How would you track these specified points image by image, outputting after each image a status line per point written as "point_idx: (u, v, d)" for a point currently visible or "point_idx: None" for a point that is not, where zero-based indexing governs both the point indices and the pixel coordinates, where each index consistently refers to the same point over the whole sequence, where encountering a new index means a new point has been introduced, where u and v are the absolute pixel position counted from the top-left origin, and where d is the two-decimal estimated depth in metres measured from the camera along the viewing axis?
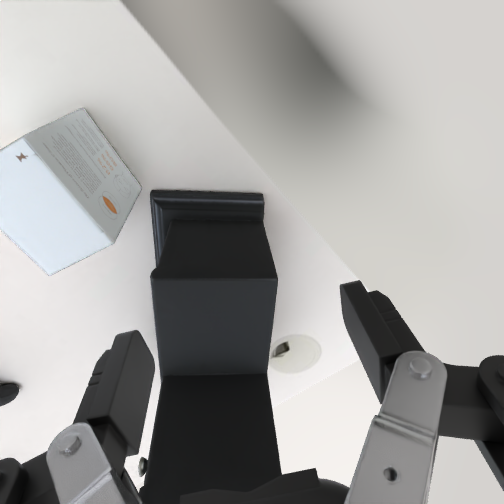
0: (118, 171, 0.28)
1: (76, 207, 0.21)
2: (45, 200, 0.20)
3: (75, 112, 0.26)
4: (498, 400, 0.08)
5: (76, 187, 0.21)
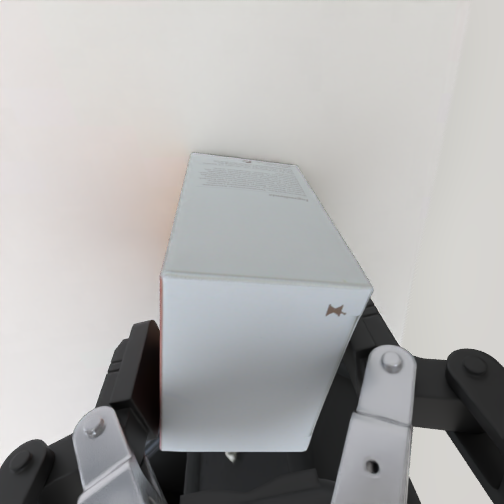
0: None
1: (318, 399, 0.11)
2: (291, 374, 0.10)
3: (306, 180, 0.16)
4: (466, 393, 0.08)
5: None
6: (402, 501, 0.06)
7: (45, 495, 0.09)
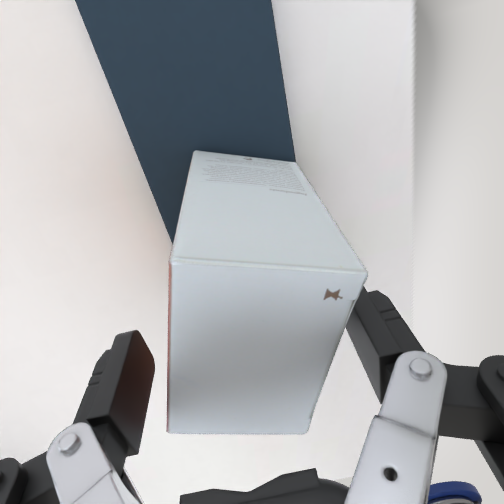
0: None
1: (317, 382, 0.12)
2: (291, 357, 0.11)
3: (304, 176, 0.16)
4: (498, 400, 0.08)
5: None
6: None
7: None
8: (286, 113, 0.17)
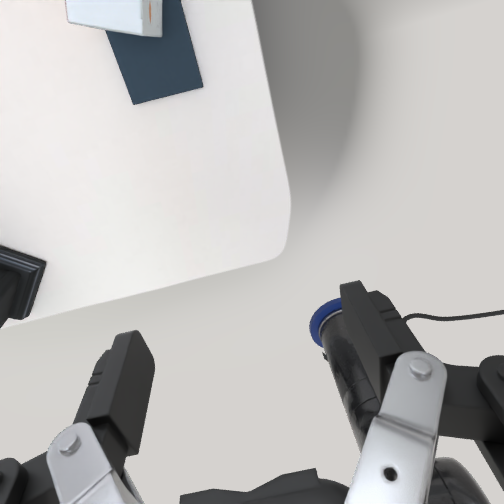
0: (158, 3, 0.31)
1: None
2: None
3: None
4: (498, 400, 0.08)
5: None
6: None
7: None
8: None
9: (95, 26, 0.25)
